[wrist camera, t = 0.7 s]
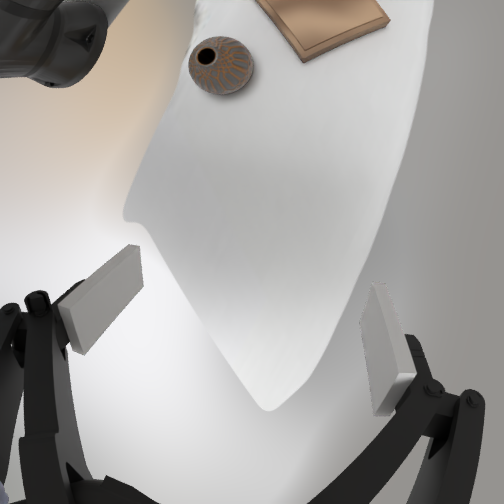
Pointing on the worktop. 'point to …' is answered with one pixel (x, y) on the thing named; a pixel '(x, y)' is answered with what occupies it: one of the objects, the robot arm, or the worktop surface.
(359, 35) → the tray
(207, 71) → the vase
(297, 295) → the worktop surface
